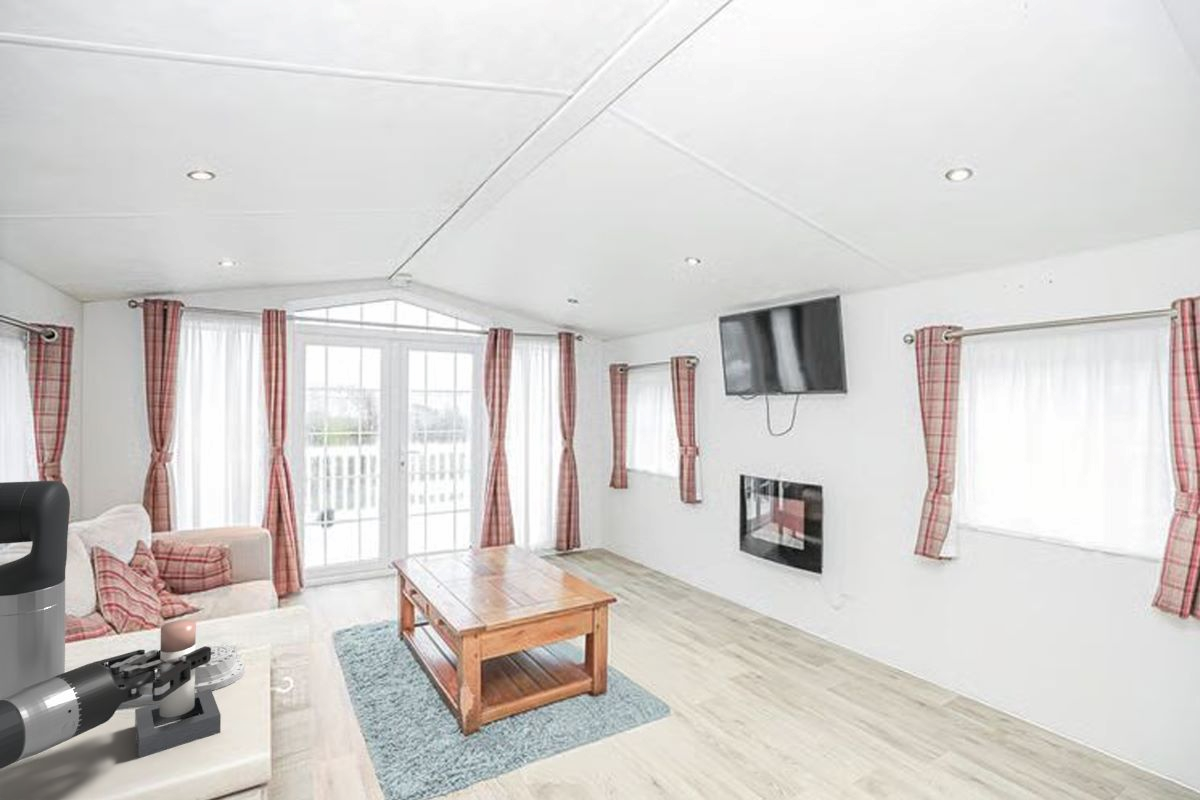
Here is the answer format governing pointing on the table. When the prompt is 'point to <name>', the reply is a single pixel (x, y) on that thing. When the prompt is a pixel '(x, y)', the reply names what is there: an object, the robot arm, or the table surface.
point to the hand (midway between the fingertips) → (197, 650)
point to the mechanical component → (219, 669)
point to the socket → (176, 725)
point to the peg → (174, 644)
